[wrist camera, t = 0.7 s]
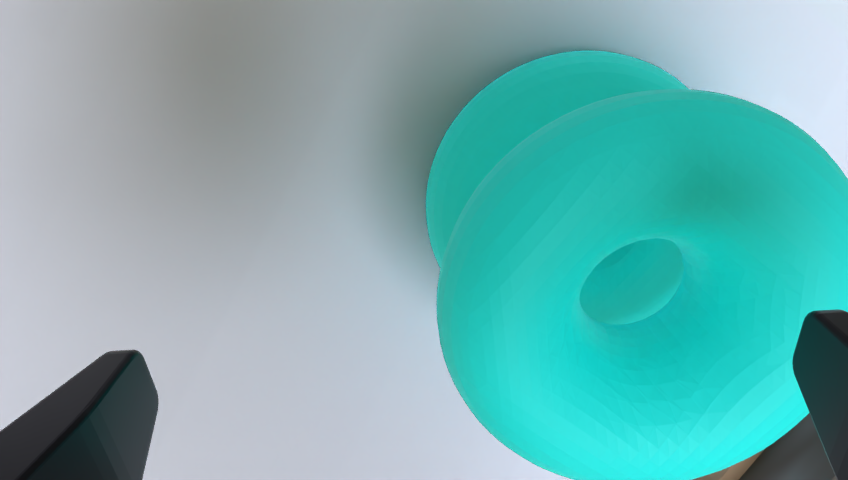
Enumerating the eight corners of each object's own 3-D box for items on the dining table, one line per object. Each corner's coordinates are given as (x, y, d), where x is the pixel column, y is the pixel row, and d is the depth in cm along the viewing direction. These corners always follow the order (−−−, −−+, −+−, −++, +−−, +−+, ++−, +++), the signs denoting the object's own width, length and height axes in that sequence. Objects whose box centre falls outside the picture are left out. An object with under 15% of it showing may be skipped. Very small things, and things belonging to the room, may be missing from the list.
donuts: (674, -11, 12) (999, 291, 14) (554, -21, 21) (764, 164, 24) (347, 377, 15) (668, 573, 17) (367, 218, 24) (574, 361, 26)
